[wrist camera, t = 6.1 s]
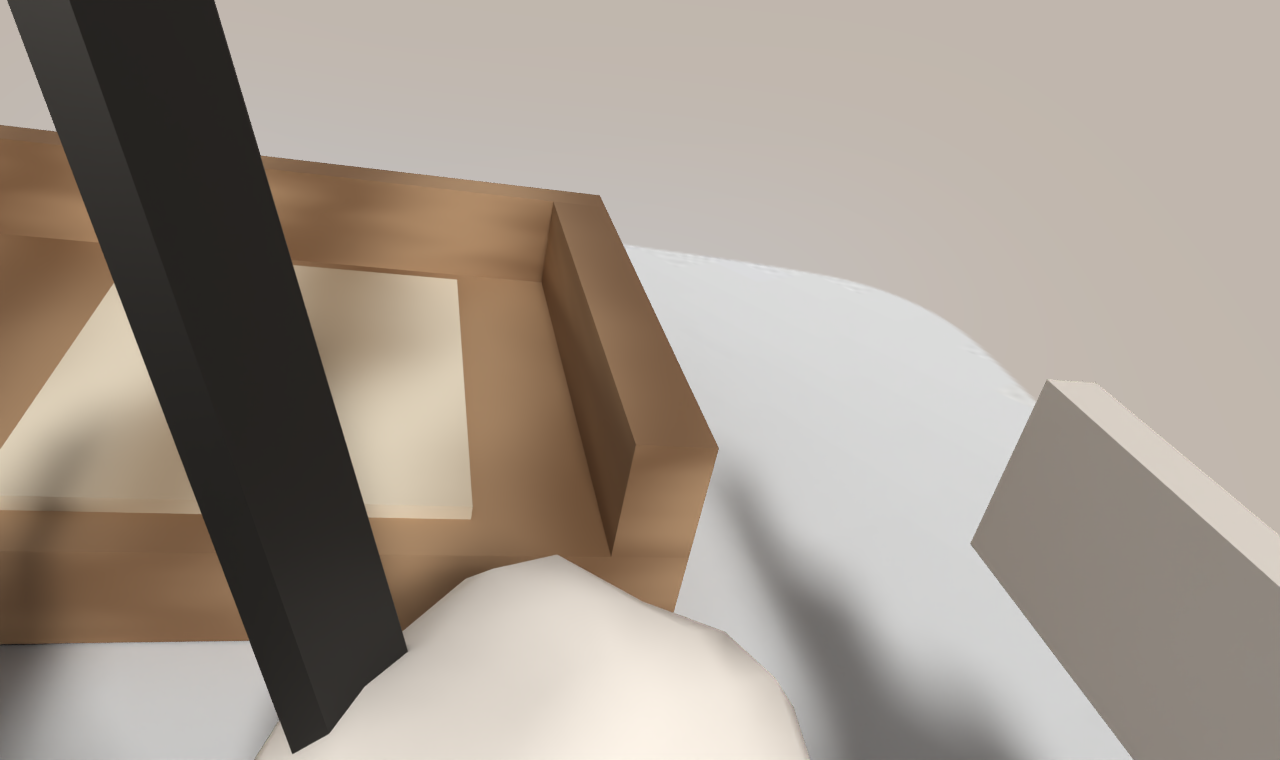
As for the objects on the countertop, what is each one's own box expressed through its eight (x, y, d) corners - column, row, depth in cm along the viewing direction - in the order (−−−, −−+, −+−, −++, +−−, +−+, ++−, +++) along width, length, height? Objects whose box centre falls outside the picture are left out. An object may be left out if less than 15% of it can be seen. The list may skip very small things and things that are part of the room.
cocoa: (898, 1212, 11) (1678, 367, 5) (487, 1959, 7) (2622, 1737, 1) (440, 687, 16) (587, -43, 10) (27, 909, 11) (-120, -163, 6)
